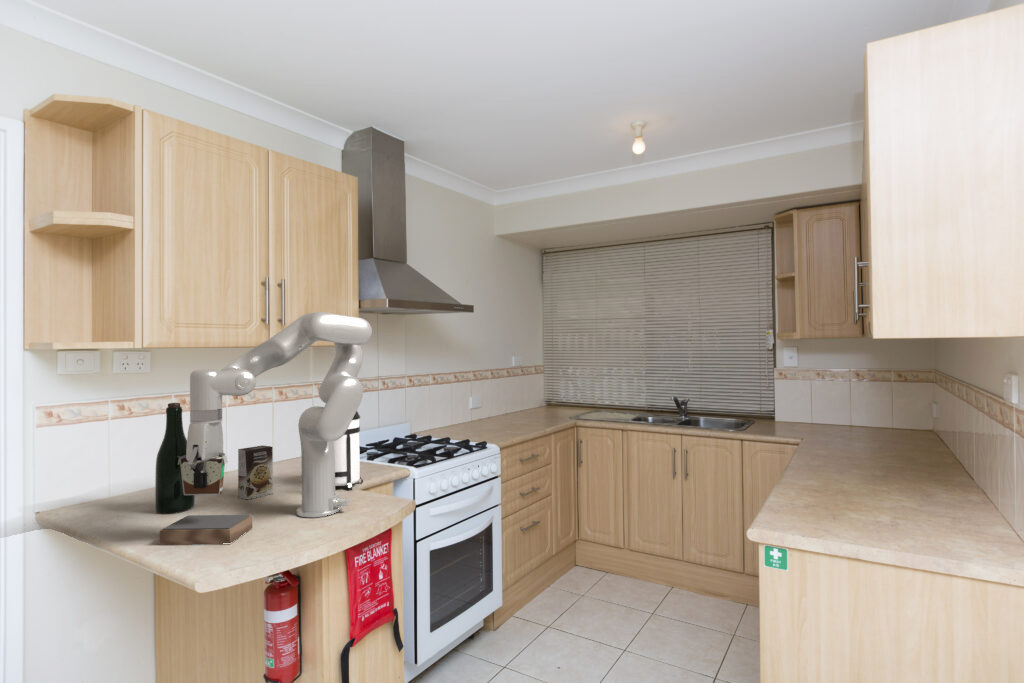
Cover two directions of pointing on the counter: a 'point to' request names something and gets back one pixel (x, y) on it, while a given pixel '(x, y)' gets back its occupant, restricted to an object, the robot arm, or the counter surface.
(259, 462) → the coffee box
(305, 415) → the robot arm
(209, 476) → the food container
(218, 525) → the plinth
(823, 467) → the counter surface
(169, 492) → the beer bottle
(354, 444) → the coffee press
